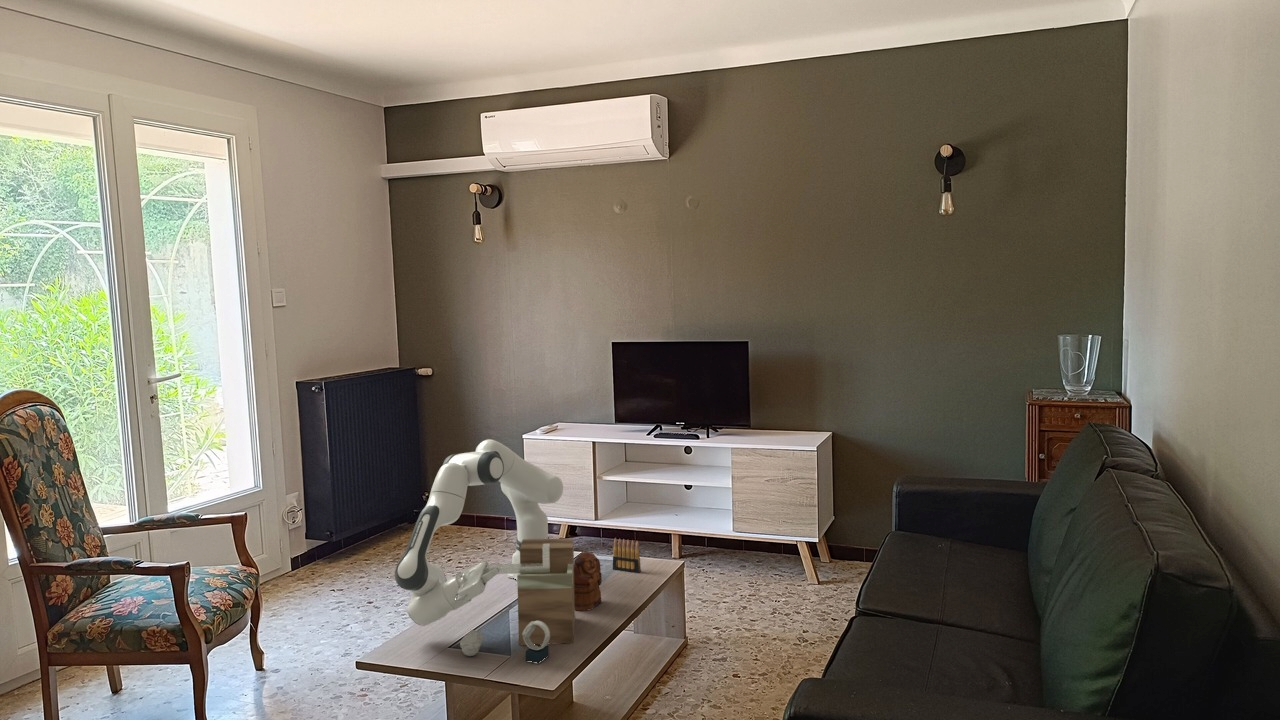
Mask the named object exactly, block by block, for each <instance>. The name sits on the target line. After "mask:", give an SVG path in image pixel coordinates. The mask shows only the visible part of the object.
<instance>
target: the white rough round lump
mask: <svg viewBox="0 0 1280 720" xmlns="http://www.w3.org/2000/svg"><path fill="white" fill-rule="evenodd" d="M483 640H484V634H483V633H482V632H481V631H478V630H475V629H471V630H470V631H469V632H468V633H466V634H465V635H464V636H463V637H462V638H461V640H460V643H459V645H460V648H461V651H462V653H463V654H464V655H465V656H467V657H473V656H475V655H477V654H478V653H479V650H480V647H481V646H482V643H483Z"/></svg>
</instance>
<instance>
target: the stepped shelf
mask: <svg viewBox="0 0 1280 720" xmlns="http://www.w3.org/2000/svg"><path fill="white" fill-rule="evenodd" d="M543 544H550V573H520V574H518V575H517V580H516V581H517V617H518V618H517V620H518V621H517V622H518V645H519V646H527V645H526V643H525V642H526V641H524V640H523V635H522V633H523V631H524V629H525V628H526V626H527V625H528V624H529V623H530V622H531V621H534V622H535V621H536V620H538V621H542V622H544V623H545V624H546V625H547V626H548V628H549V631H550V639H549V642H548V643H573V644H574V637H573V636H574V633H575V622H576V621H575V619H576V615H575V614H576V613H575V611H576V610H575V601H574V564H575V563H574V562H575V557H574V555H575V554H574V553H575V549H574V538H573V537H572V538H571V537H569V538H549V539H523V540H522V544H521V547H520V564H525V563H543V549H542V547H543ZM545 628H546V627H545ZM529 638H530V640H531V642H532V643H533V644H541V645H542V643H543V641H544V638H545V632H544V630H543V629H542V628H541V627H540V626H538V625H536V628H535V630H534V631H533V632H532V634H531V635H530V637H529Z"/></svg>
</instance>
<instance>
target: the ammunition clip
mask: <svg viewBox="0 0 1280 720" xmlns="http://www.w3.org/2000/svg"><path fill="white" fill-rule="evenodd" d="M612 551H613V554H612V555H613V556H612V570H613V571H617V572H618V571H620V572H625V573H635V574H640V573H641V572H642V569H641V558H640V553H641V552H640V547H639V540H636V541H635V542H634V540H633V539H632V540H631V542H630V540H629V539H627V541H626V540H625V539H624V538H623V540H621V538H619V539H618V540H617V537H614V540H613V549H612Z"/></svg>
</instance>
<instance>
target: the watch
mask: <svg viewBox="0 0 1280 720" xmlns="http://www.w3.org/2000/svg"><path fill="white" fill-rule="evenodd" d="M536 625H538V626H540V627H541V628H542V629H543V630H544V632H545V638H544V641H543V643H542V644H541V645H540V644H535V645H534V644H533V643H532V642H531V640H530V638H529V637H530V635H531V634H532V632H533V631H534V630H535V628H536ZM545 627H546V628H545ZM522 635H523V640H524V641H526V642H525V643H526V645H525V646H526V647H528V648H527V650H525V662H526V661H532V662H537V663H539V662H540V661H542V660H543V659H544V658H546V657H547V656H548V655H549V656H550V653H549V650H550V649H549V644H548V642H549V639H550V631H549V628H548V626H547V625H546V624H545V623H544V622H542V621H538V620H536V621H535V622H534V621H531V622H530V623H529V624H528V625H527V626H526V628H525V629H524V631H523V633H522ZM546 659H547V658H546Z"/></svg>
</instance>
